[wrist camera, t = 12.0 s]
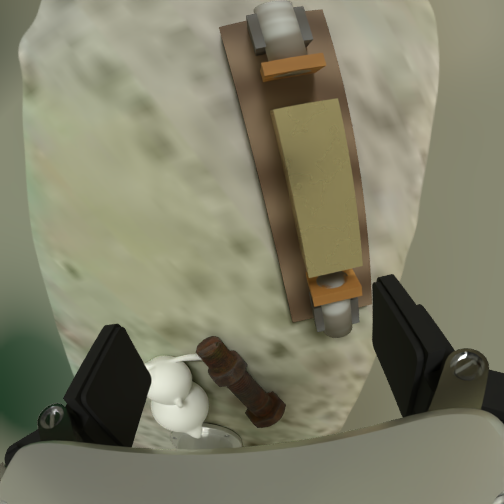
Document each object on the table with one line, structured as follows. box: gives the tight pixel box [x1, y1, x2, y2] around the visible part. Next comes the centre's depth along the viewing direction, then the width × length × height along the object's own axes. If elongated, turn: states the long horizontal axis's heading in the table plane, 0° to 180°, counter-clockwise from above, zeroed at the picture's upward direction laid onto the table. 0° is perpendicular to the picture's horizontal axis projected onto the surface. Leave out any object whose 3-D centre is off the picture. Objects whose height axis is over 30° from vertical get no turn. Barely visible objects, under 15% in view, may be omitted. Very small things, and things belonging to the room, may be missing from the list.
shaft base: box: [219, 0, 372, 338], centre depth 25 cm, size 30×9×6 cm, turn 14°
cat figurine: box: [144, 354, 209, 439], centre depth 36 cm, size 9×11×12 cm
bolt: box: [196, 336, 286, 428], centre depth 37 cm, size 6×5×15 cm
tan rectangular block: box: [270, 98, 363, 278], centre depth 24 cm, size 4×13×6 cm, turn 14°
